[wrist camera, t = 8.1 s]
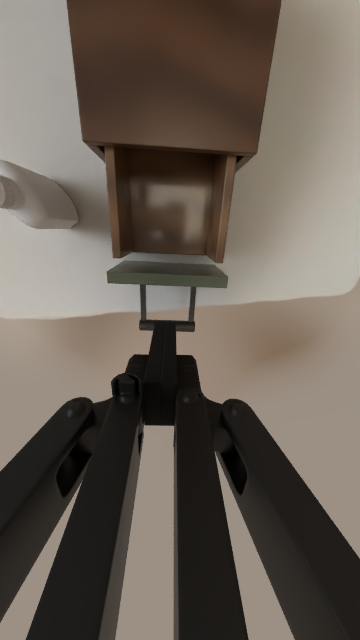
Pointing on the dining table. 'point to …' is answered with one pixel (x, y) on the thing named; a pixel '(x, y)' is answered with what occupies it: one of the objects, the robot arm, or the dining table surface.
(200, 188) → the drawer
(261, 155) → the dining table surface
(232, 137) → the cabinet
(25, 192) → the eye dropper bottle
